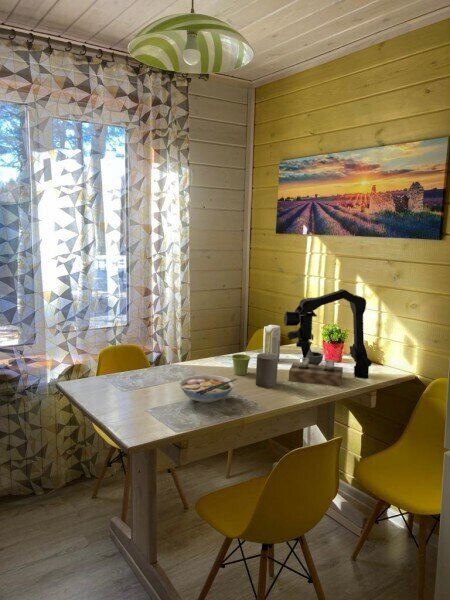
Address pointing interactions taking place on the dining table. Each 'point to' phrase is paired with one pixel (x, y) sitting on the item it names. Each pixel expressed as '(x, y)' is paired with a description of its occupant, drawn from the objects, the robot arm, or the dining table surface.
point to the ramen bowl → (206, 387)
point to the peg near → (329, 365)
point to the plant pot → (240, 363)
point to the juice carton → (271, 340)
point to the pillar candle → (266, 370)
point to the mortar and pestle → (314, 357)
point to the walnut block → (316, 374)
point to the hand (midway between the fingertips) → (304, 357)
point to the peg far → (303, 363)
